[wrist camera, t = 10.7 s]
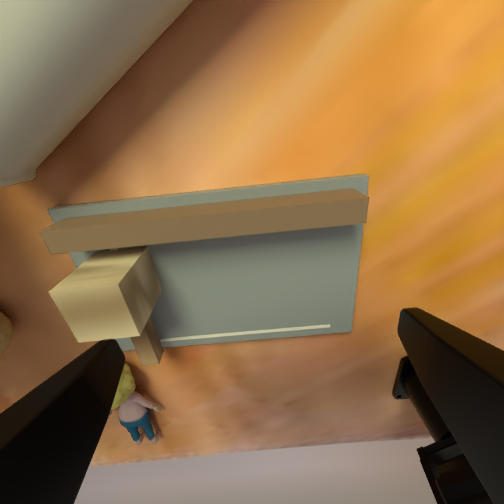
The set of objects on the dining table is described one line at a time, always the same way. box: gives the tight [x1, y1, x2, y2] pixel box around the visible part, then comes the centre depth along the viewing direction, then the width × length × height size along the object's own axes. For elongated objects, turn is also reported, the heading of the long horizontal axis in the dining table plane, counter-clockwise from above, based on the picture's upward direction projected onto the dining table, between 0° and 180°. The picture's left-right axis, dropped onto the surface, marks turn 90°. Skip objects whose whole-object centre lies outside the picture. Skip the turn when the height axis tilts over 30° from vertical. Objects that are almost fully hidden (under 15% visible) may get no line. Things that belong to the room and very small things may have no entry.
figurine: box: [109, 363, 161, 445], centre depth 26 cm, size 6×4×15 cm
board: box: [39, 174, 369, 351], centre depth 19 cm, size 14×22×3 cm, turn 96°
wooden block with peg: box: [49, 246, 164, 366], centre depth 18 cm, size 10×4×5 cm, turn 6°
